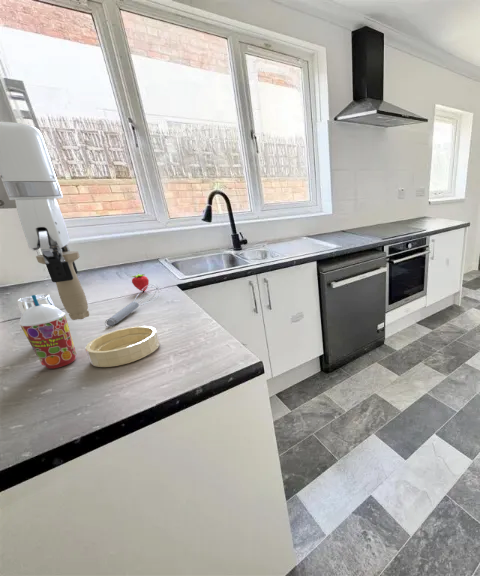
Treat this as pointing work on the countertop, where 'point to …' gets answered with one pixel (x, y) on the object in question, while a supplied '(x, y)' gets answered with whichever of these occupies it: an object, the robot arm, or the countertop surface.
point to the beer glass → (28, 301)
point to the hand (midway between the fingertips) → (65, 276)
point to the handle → (71, 289)
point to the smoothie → (48, 334)
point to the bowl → (122, 346)
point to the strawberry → (140, 282)
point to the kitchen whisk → (126, 310)
